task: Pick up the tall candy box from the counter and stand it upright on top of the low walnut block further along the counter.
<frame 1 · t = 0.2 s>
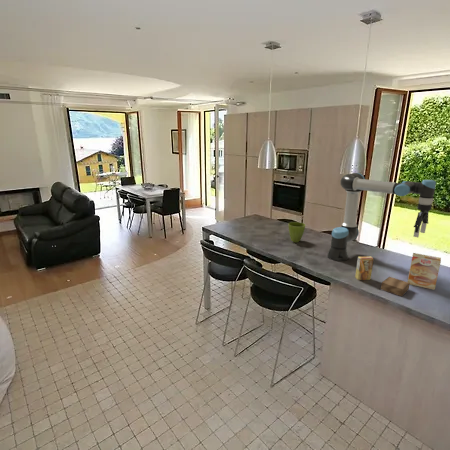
hand: (419, 234, 204), 28 cm above the counter, fingers open, 13 cm apart
flower pot: (295, 241, 276), on the counter
coffeecake box: (420, 285, 195), on the counter
candy box: (362, 279, 203), on the counter
walnut block: (394, 289, 189), on the counter
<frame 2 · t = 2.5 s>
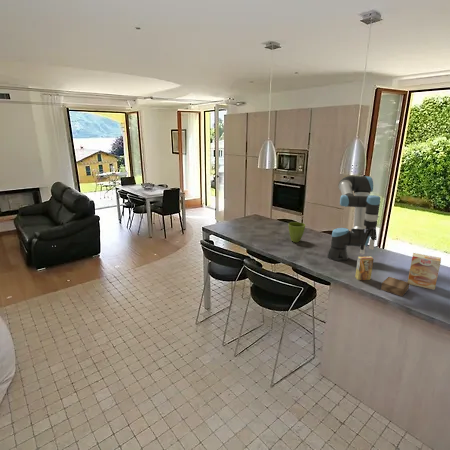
hand: (366, 251, 197), 19 cm above the counter, fingers open, 13 cm apart
nothing on the counter moved.
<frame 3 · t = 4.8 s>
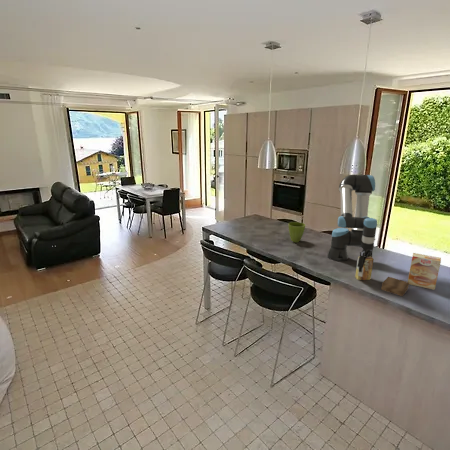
hand: (363, 273, 202), 4 cm above the counter, fingers closed on candy box, 9 cm apart
candy box: (362, 278, 203), on the counter, touching gripper
everything else where it was.
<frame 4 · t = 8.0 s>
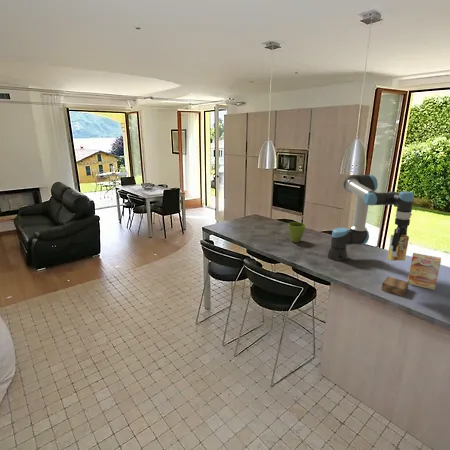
hand: (397, 254, 183), 23 cm above the counter, fingers closed on candy box, 9 cm apart
candy box: (396, 259, 184), point 19 cm above the counter, touching gripper
everything else where it was.
when the fingers open (9 cm above the counter, at t = 11.6 s): candy box drops 1 cm, resting on walnut block.
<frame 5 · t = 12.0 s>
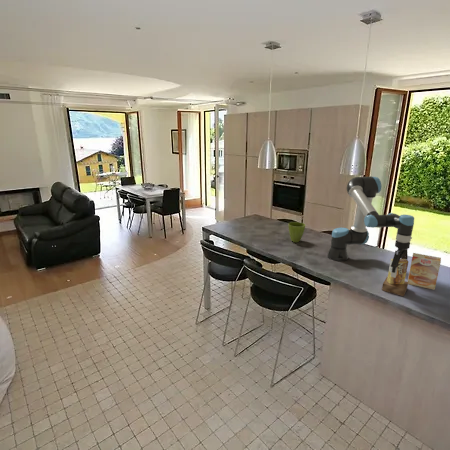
hand: (397, 273, 186), 11 cm above the counter, fingers open, 13 cm apart
candy box: (395, 283, 187), point 4 cm above the counter, touching walnut block
walnut block: (394, 290, 189), on the counter, touching candy box
everything else where it was.
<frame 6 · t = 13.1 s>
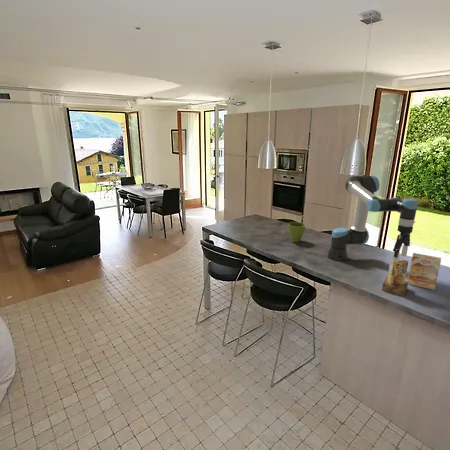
hand: (399, 258, 183), 20 cm above the counter, fingers open, 13 cm apart
candy box: (395, 283, 187), point 4 cm above the counter
walnut block: (394, 290, 189), on the counter
everything else where it was.
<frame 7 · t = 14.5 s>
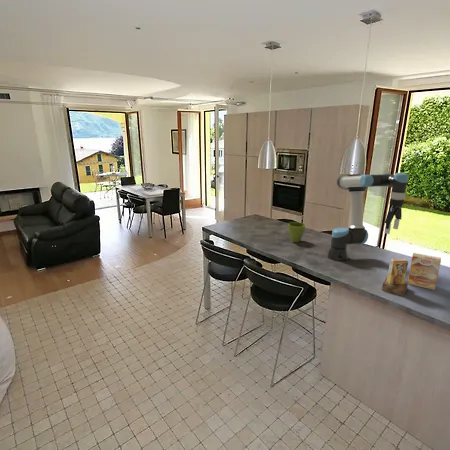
hand: (391, 231, 194), 33 cm above the counter, fingers open, 13 cm apart
candy box: (395, 283, 188), point 4 cm above the counter, touching walnut block
walnut block: (394, 289, 189), on the counter, touching candy box
everything else where it was.
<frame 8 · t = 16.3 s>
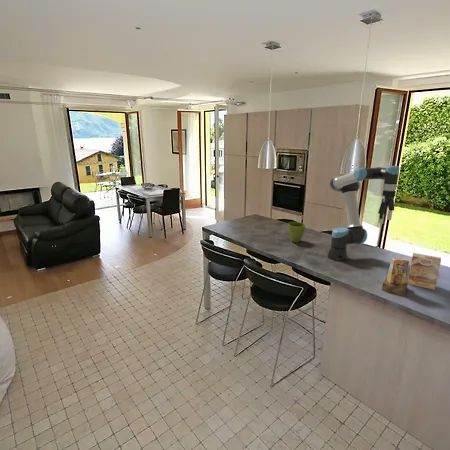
hand: (384, 221, 203), 37 cm above the counter, fingers open, 13 cm apart
nothing on the counter moved.
at the end: candy box 0.5 cm from the walnut block (horizontally); candy box touching walnut block; candy box tilted 3° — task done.
